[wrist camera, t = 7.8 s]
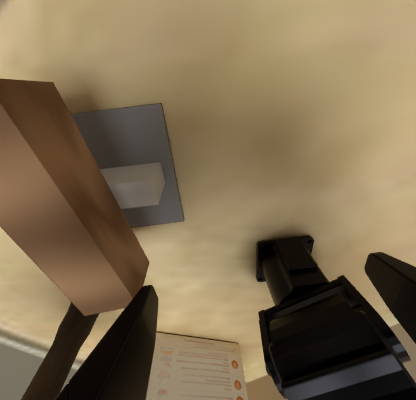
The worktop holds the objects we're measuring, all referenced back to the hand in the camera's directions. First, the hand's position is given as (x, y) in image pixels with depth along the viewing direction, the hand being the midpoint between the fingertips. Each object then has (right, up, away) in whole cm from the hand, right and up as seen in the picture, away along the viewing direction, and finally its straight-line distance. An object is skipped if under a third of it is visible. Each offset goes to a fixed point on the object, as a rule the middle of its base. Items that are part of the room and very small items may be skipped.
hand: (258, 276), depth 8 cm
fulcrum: (-11, +5, +10) cm, 16 cm away
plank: (-11, +3, +6) cm, 13 cm away
